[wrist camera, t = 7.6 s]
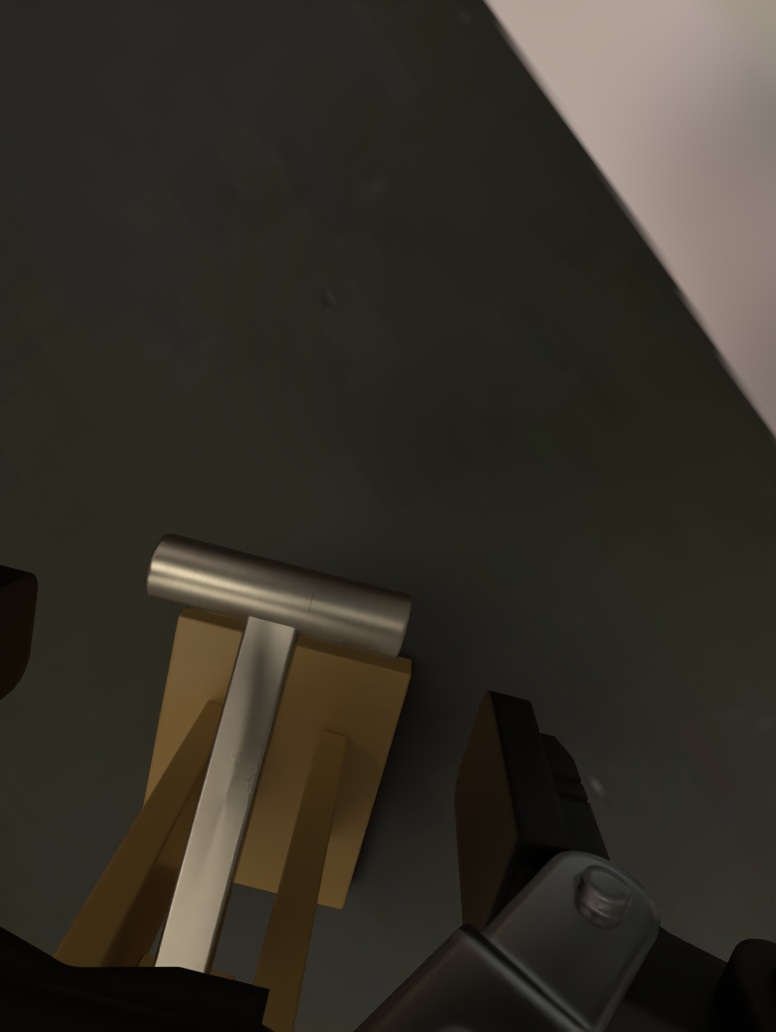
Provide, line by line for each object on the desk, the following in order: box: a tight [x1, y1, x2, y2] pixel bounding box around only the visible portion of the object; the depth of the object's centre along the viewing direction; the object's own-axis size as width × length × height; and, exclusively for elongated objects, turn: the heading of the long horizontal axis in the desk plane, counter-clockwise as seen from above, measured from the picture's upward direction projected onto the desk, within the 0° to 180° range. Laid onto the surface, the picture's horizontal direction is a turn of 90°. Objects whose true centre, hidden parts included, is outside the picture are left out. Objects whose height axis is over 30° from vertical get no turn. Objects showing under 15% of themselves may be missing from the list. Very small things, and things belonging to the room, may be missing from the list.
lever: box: [135, 533, 412, 981], centre depth 14 cm, size 12×6×2 cm, turn 165°
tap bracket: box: [53, 607, 412, 1032], centre depth 18 cm, size 10×8×13 cm
